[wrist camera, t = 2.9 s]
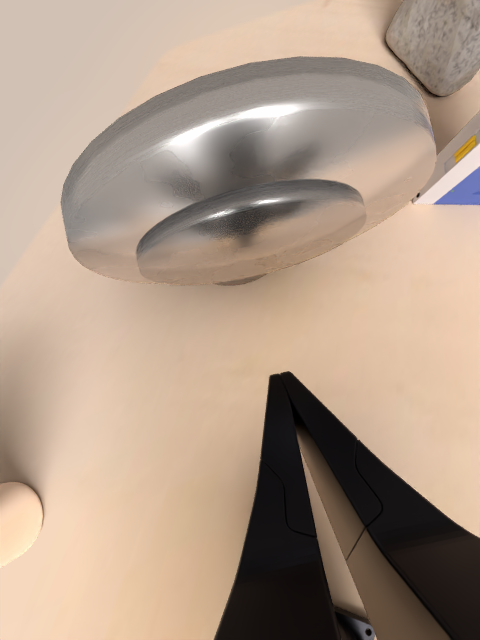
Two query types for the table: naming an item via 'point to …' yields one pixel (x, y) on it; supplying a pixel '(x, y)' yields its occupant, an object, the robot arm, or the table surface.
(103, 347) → the table surface
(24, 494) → the beer glass
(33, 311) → the table surface
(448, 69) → the decorative stone
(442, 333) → the table surface
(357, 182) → the cooker lid
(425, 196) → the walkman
